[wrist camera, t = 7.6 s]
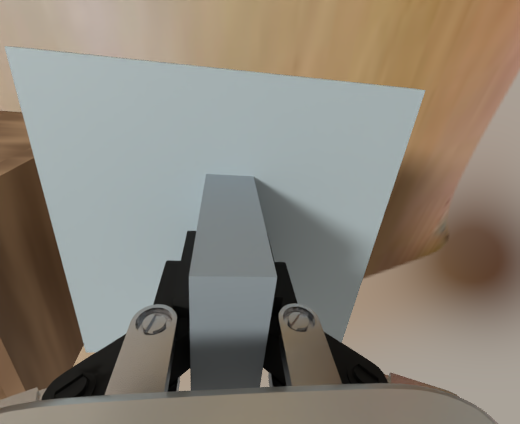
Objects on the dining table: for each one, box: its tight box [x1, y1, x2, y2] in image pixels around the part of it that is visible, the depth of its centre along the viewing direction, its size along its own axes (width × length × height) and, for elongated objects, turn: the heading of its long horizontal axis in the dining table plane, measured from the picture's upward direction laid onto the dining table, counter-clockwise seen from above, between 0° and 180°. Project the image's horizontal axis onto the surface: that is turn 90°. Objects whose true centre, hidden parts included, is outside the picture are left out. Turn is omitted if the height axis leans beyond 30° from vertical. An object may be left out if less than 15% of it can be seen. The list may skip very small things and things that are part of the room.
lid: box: [5, 46, 425, 391], centre depth 12 cm, size 15×15×9 cm
